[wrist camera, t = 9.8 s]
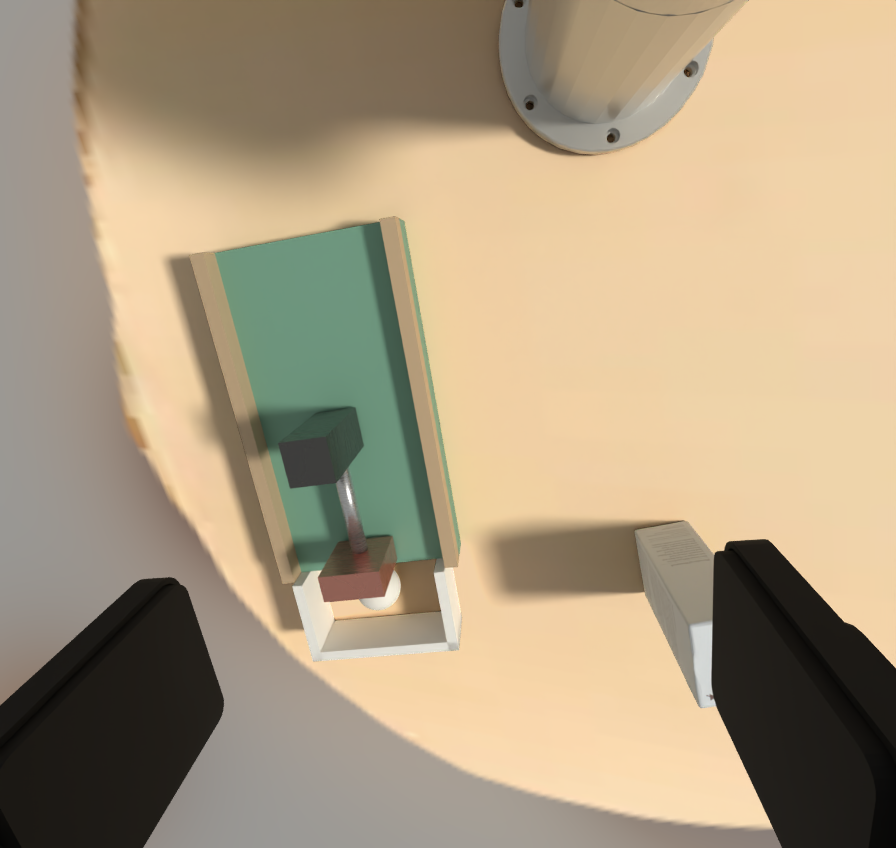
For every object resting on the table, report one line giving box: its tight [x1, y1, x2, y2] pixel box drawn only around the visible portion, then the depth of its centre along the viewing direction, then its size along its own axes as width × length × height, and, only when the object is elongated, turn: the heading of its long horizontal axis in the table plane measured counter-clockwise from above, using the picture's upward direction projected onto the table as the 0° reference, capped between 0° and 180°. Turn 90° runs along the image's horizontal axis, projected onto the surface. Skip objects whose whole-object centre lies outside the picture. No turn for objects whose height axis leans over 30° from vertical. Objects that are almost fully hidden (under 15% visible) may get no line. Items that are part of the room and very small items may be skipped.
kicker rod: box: [278, 407, 397, 602], centre depth 36 cm, size 12×4×7 cm, turn 9°
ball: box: [359, 570, 401, 610], centre depth 43 cm, size 4×4×4 cm
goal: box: [292, 558, 462, 661], centre depth 43 cm, size 7×12×4 cm, turn 99°
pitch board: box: [189, 216, 461, 584], centre depth 39 cm, size 25×14×4 cm, turn 9°
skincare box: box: [635, 521, 716, 708], centre depth 36 cm, size 6×4×12 cm
